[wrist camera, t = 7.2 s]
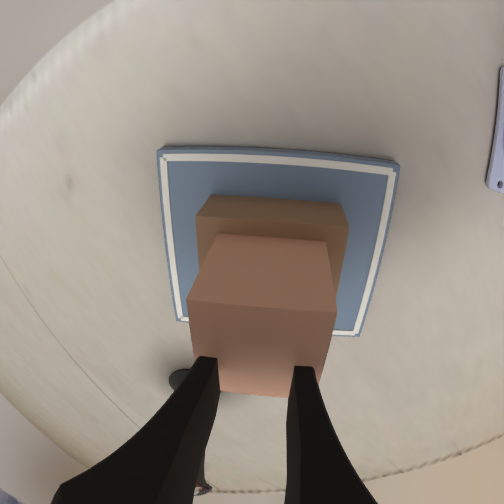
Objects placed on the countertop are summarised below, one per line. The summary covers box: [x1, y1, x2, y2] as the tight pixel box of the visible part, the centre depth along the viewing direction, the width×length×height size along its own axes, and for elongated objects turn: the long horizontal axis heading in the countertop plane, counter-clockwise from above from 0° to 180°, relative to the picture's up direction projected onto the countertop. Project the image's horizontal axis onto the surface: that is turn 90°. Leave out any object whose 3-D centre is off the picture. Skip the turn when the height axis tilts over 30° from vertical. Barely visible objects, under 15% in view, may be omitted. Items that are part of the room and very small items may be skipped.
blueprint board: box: [157, 146, 400, 337], centre depth 18 cm, size 13×12×4 cm
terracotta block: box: [186, 233, 338, 398], centre depth 14 cm, size 5×5×5 cm
